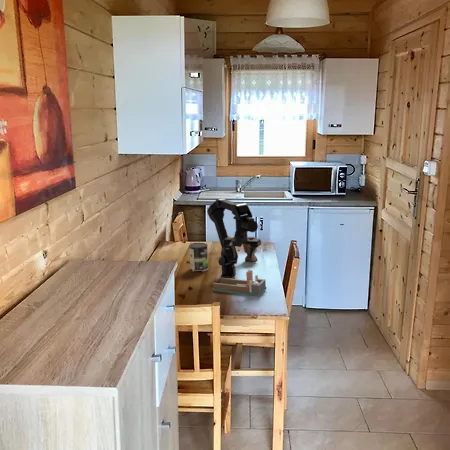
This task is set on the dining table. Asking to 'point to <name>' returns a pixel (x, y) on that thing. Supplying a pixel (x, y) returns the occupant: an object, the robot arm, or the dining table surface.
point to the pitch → (231, 287)
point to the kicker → (248, 278)
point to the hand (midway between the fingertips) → (242, 258)
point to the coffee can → (198, 256)
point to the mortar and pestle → (247, 250)
